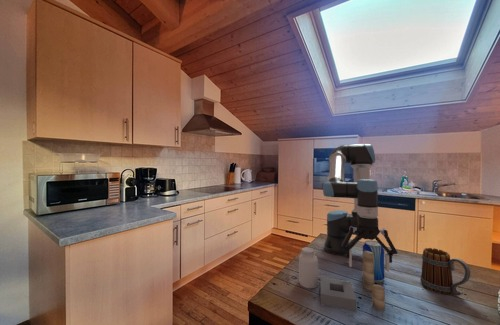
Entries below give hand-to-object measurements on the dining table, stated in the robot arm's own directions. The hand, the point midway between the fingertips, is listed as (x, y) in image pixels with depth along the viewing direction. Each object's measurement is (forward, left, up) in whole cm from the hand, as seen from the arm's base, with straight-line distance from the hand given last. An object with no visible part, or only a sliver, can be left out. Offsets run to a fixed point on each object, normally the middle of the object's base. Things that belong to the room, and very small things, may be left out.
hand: (368, 267), depth 87 cm
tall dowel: (0, 0, -9) cm, 9 cm away
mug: (-8, +29, -9) cm, 32 cm away
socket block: (+10, -13, -9) cm, 18 cm away
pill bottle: (+3, -24, -9) cm, 26 cm away
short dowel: (+11, +1, -9) cm, 14 cm away
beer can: (-10, +4, -9) cm, 14 cm away
